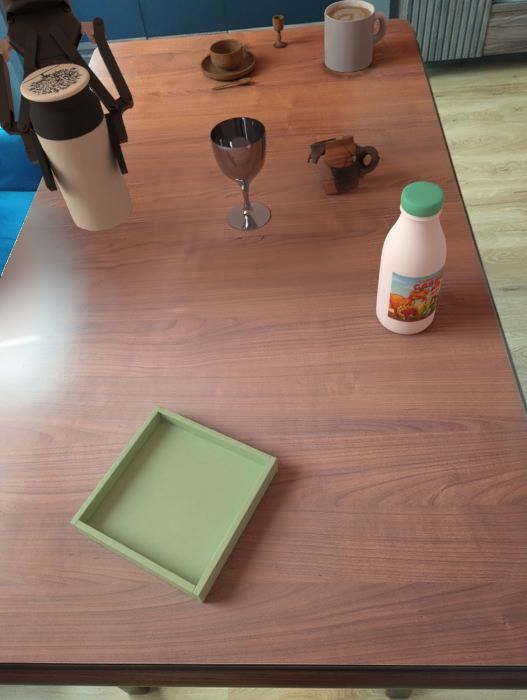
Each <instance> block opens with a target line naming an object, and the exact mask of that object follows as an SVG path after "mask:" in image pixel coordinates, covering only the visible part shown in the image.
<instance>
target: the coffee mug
mask: <svg viewBox="0 0 527 700" xmlns="http://www.w3.org/2000/svg"><path fill="white" fill-rule="evenodd" d="M377 20H378V22H379V28H378V30H377V32H376V33H375V22H376V21H377ZM387 30H388V18H387V15H386V13H384V12H383V11H380V10H379V11H376V8H375V6H374V4H372V3H370V2H368V1H366V0H340V1H336V2H333V3H331V4H329V5H328V6H327V7H326V8H325V10H324V65H325V66H326V67H327V68H328V69H330V71H331V70H332V71H335V72H338V73H354V72H359V71H361V70H364V69H366V68H368V67H369V66H371V64H372V61H373V51H374V49H373V48H374V46H375V45H376V44H378V43H379V42H380V41H382V40H383V39H384V38H385V35H386V34H387ZM374 33H375V34H374Z"/></svg>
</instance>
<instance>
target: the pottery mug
mask: <svg viewBox="0 0 527 700" xmlns="http://www.w3.org/2000/svg"><path fill="white" fill-rule="evenodd" d="M309 148H310V153H309V155H308V156H307V161H306V163H307V164H309V163H310V162H311V163H313V164H314V165H317V164H318V162H319V159H320V158H321V157H323V156H324V158H323V163H324V165H325V166H326V167H327V168H330V169H329V170H330V171H331V174H332V177H333V178H330V179H326V180H323V181H322V186H323V189H324V194H326V195H328V194H329V195H330V194H336V193H343V192H344V193H345V192H349V191H352V190H353V191H354V190H356V189H358V187H359V181H360V179H365V178H364V177H365V176H366V175H367V174H370V173H372V172H374V170H375V169H376V168H377V167H378V165H379V163H380V160H381V157H380V155H379V150H378V149H377V148H376V147H374V146H372V145H365V146H360V145H358V144H357V143H356V142H355V136H354V135H343V136H342V137H341V138H336V137H333V138H328V139H324V140H320V141H316V142H313V143H311V144H309ZM367 155H369V156H370V161H369V162H368V164H365V162H364V161H365V159H366V157H367ZM354 157H355V159H353V158H354Z"/></svg>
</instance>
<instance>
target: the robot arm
mask: <svg viewBox="0 0 527 700" xmlns="http://www.w3.org/2000/svg"><path fill="white" fill-rule="evenodd" d="M0 5H1V8H2V11H3V14H4V18H5V22H6V25H7V29H6V35H5V36H6V37H3V38H1V39H0V128H1V129H2V130H3V131H4V132H5V133H6V134H7V135H9V136H19V137H20V138H21V141H22V144H23V148H24V150H25V151H24V152H25V154H26V157H27V159H28V160H29V161H30V163H32V165H36V164H39V168H40V172H41V174H42V178H43V180H44V185H45V188H46V189H47V190H49V191H50V192H51V193H52V192H56V191H58V190H59V189H58V186H57V182H56V178H55V176H54V174H53V171H52V169H51V167H50V164H49V162H48V160H47V157H46V155H45V153H44V150H43V148H42V146H41V143H40V141H39V139H38V136H37V134H36V132H35V129H34V127H33V125H32V122H31V120H30V107H31V104H30V102H29V101H28V99H27V98H25V97H24V96H23V95H22V93H21V92H20V101H19V108H18V118H17V121H16V114H15V106H14V99H13V91H12V90H13V89H12V84H11V75H10V70H9V67H8V64H7V63H8V62H10V60H11V55H10V53H11V51H12V50H14V51H15V52H16V53H17V54H19V56H21V57H22V58H23V63H22V68H23V75H22V82H23V81H24V79H25V78H26V77H28V76H29V75H30V74H32V73H33V72H35V71H37V70H40V69H42V68H45V67H48V66H52V65H58V64H75V65H79V66H81V67H83V68H85V69H86V70H87V71H88V73H89V76H90V79H89V88H90V89H91V90H92V91H93V92H94V93H95V94H96V95H97V97H98V98H99V100H100V103H101V105H103V106H104V108H105V109H106V110H107V112H106V113H104V115H105V119H106V123H107V126H108V130H109V133H110V137H111V140H112V144H113V147H114V151H115V154H116V158H117V161H118V165H119V168H120V171H121V173H122V175H127V174H129V171H128V170H129V169H128V168H127V164H126V160H125V156H124V153H123V149H122V147H121V145H123V144H127V143H129V142H128V141H129V136H128V133H127V132H128V131H127V128H126V126H125V122H124V118H123V115H124V113H125V112H126V111H128V110H131V109H133V107H135V102H134V98H133V94H132V92H131V91H130V88H129V86H128V84H127V82H126V80H125V77H124V75H123V73H122V71H121V68H120V67H119V65H118V62H117V60H116V58H115V56H114V54H113V51H112V50H111V48H110V47H111V46H110V45H109V43H108V37H107V29H106V26H105V23H104V20H103V18H101V17H99V16H97V17H94V18H93V20H92V21H81V20H80V19H79V18H78V17H77V16H76V15H75V13H74V10H73V6H72V2H71V0H0ZM83 35H85V36H86V37H87V38H88V40H89V42H90V43H91V44H94V45H96V48H97V50H98V53H99V55H100V57H101V59H102V61H103V65H104V66H105V67H106V70H107V72H108V74H109V76H110V79H111V80H112V83H113V85H114V87H115V89H116V92H117V94H118V95H119V97H118V98H116V99H115V98H114V97H113V95H112V93H111V92H110V91H109V90H108V89H107V87H106V86H105V84H103V83H102V81H101V80H100V78H99V77H98V75H96V74H95V72H94V71H93V69H92V68H91V67H90V66H89V64H88V63H87V62H86V60H85V59H84V58H83V56H82V55H81V54H80V52H79V51H78V48H79V46H80V43H81V40H82V37H83Z"/></svg>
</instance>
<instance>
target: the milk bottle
mask: <svg viewBox="0 0 527 700" xmlns="http://www.w3.org/2000/svg"><path fill="white" fill-rule="evenodd" d="M444 202H445V191H444V189H442V187H440V185H438V184H436V183H434V182H430V181H426V180H425V181H421V180H420V181H415V182H411V183H409V184H407V185H406V186H404V188H403V189H402V192H401V196H400V205H399V211H400V215H399V217H398V219H397V220H396V222H395V223H394V224H393V226H392V227H391V229H390V230H389V231H388V233H387V235H386V237H385V239H384V242H383V245H382V250H381V258H380V263H379V264H380V265H379V273H378V274H379V275H378V284H377V291H376V293H377V294H376V305H375V307H376V308H375V314H376V317H377V319H378V322H379V323H380V324H381V325H382V326H383V327H384V328H385V329H386V330H388V331H390V332H392V333H395V334H398V335H399V334H400V335H415V334H418V333H420V332H422V331H424V330H426V329H427V328H428V327H429V326H430V325H431V324H432V322H433V321H434V317H435V315H436V311H437V310H436V309H437V305H438V302H439V301H438V300H439V296H440V291H441V286H442V281H443V277H444V271H445V267H446V261H447V252H448V251H447V247H448V246H447V240H446V236H445V234H444V233H445V232H444V231H443V228H442V225H441V221H440V215H441V214H442V213H443V207H444Z"/></svg>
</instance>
